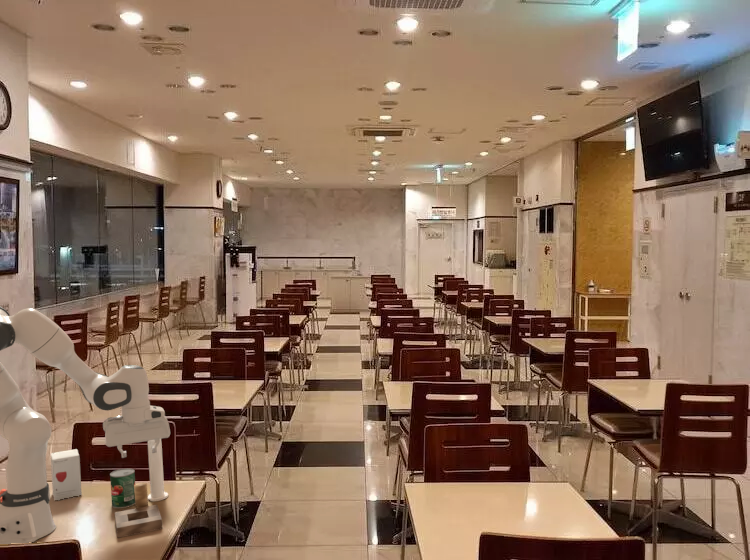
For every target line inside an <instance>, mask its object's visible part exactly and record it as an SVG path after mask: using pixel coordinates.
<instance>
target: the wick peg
mask: <svg viewBox="0 0 750 560" xmlns="http://www.w3.org/2000/svg"><path fill="white" fill-rule="evenodd" d="M134 492H135V504H134V506H135V508H134V509H136V508H141V507H147V506H149V500H148V495H149V493H148V483H147V482H137V483H135V485H134Z"/></svg>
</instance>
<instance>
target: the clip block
mask: <svg viewBox="0 0 750 560" xmlns="http://www.w3.org/2000/svg"><path fill="white" fill-rule="evenodd" d="M114 519H115V520H114V521H115V529H116V536H117V538H122V537H127V536H128V537H129V536H132V535H138V534H142V533H147V532H148V533H149V532H152V531H157V530H162V529H163V520H162V519H163V518H162V516H161V512H160V508H159V506H158V504H154V505H153V504H152V505H148V506H147V507H141V508H131V509H125V510H122V511H115V512H114Z"/></svg>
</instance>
